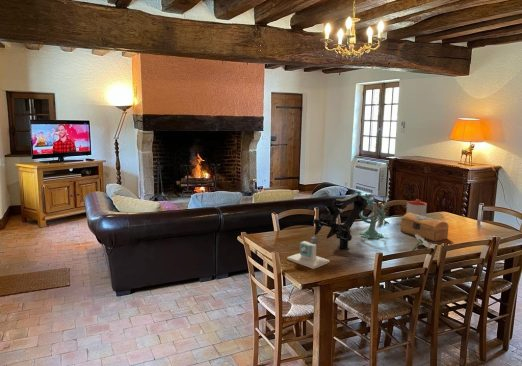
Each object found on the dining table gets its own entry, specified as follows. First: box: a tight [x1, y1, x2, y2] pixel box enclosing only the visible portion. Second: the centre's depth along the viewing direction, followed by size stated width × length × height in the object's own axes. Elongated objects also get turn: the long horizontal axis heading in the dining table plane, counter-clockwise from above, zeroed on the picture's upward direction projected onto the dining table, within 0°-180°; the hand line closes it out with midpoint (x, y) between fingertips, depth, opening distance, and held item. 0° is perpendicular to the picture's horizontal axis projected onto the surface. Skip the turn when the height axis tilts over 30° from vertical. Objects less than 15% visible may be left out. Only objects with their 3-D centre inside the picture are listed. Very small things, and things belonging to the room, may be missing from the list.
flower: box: [412, 234, 430, 251], centre depth 265 cm, size 13×6×30 cm
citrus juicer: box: [405, 199, 428, 217], centre depth 330 cm, size 16×17×20 cm
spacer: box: [299, 241, 311, 257], centre depth 234 cm, size 2×7×7 cm, turn 44°
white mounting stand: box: [286, 240, 330, 270], centre depth 237 cm, size 15×20×11 cm
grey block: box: [301, 236, 318, 256], centre depth 237 cm, size 12×3×12 cm, turn 134°
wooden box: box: [400, 212, 449, 242], centre depth 296 cm, size 30×16×14 cm, turn 30°
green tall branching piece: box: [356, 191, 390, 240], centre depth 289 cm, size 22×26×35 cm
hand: (320, 236), depth 243 cm, fingers open, 9 cm apart
